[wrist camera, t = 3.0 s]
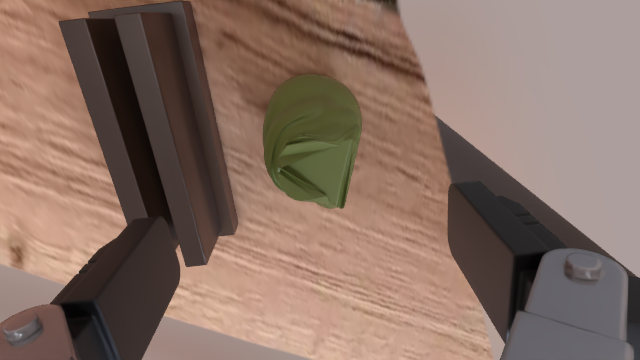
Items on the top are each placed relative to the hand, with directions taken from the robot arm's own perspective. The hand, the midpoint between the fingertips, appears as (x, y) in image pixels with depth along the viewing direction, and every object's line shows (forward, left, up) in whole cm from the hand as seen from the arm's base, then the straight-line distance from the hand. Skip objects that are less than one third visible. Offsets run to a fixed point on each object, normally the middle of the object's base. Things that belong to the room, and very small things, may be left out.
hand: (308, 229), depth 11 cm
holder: (+8, 0, -14) cm, 16 cm away
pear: (0, 0, -14) cm, 14 cm away
